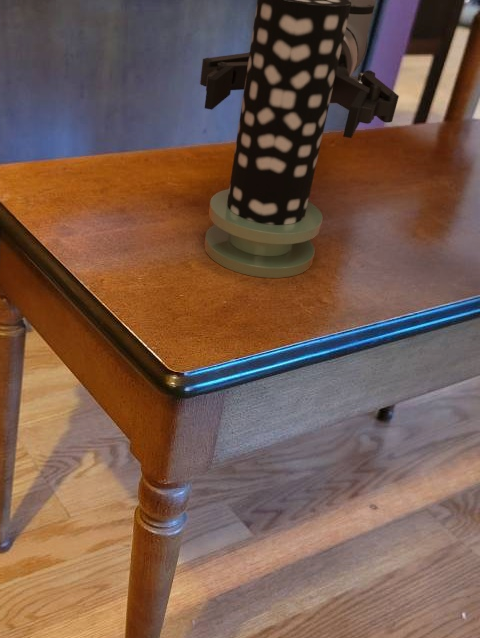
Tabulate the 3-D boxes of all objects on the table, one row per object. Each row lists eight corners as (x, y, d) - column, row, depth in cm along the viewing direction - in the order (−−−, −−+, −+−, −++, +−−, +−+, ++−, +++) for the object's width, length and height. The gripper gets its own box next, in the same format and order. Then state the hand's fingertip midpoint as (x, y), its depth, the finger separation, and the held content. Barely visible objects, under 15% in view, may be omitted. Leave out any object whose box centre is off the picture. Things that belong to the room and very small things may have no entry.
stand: (327, 249, 84) (338, 207, 81) (287, 289, 75) (297, 244, 72) (232, 219, 88) (239, 178, 85) (184, 254, 79) (189, 210, 76)
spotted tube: (257, 229, 74) (297, 5, 62) (212, 197, 79) (240, -14, 67) (321, 219, 78) (370, 6, 65) (273, 189, 83) (311, -13, 71)
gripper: (418, 118, 85) (401, 175, 69) (212, 78, 90) (151, 122, 74) (439, 47, 81) (425, 91, 64) (221, 9, 86) (157, 41, 69)
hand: (278, 108), depth 69 cm, fingers open, 13 cm apart
